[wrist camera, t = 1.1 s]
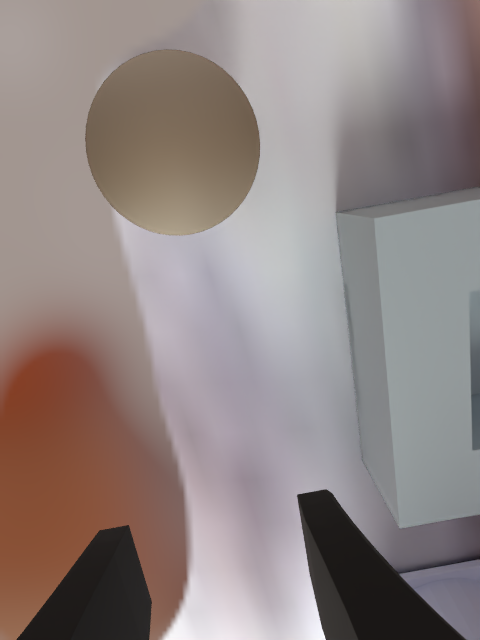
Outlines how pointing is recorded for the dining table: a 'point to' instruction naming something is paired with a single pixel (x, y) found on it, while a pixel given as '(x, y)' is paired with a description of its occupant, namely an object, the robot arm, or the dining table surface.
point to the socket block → (417, 350)
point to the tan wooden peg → (172, 142)
